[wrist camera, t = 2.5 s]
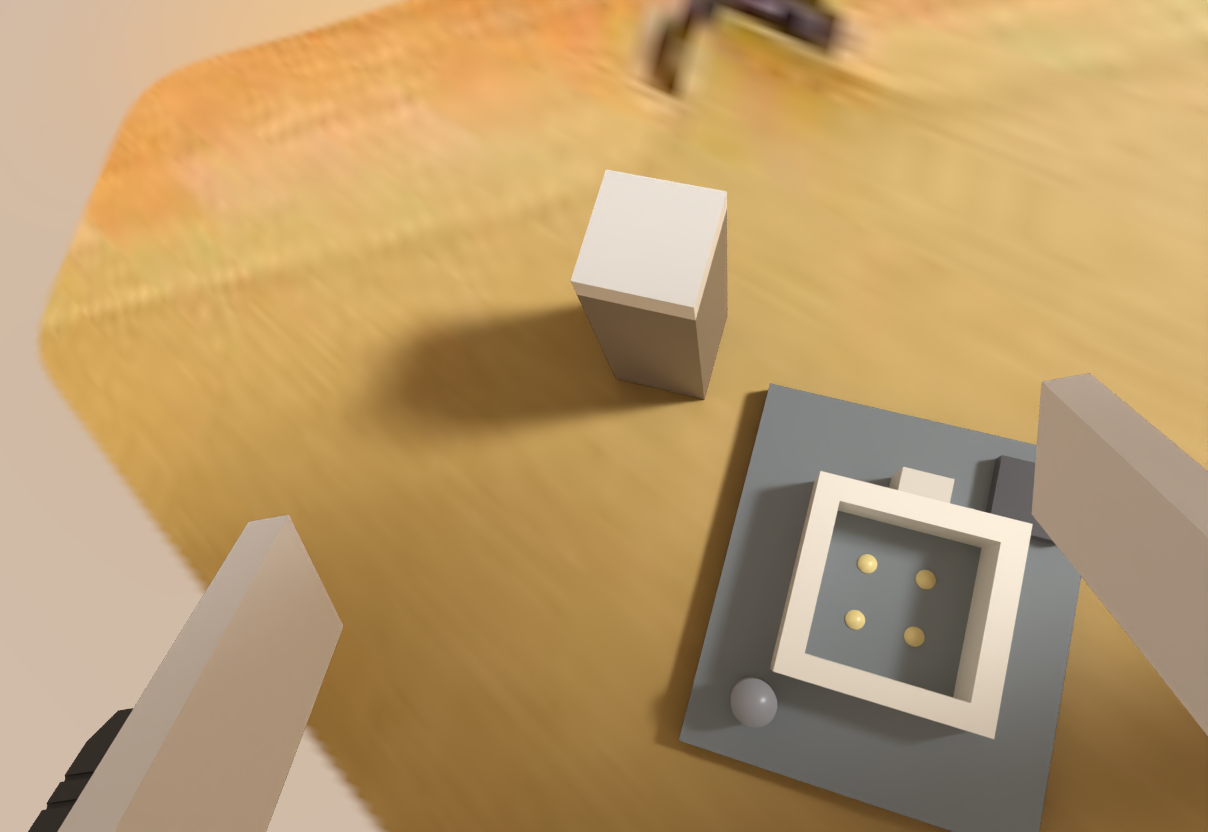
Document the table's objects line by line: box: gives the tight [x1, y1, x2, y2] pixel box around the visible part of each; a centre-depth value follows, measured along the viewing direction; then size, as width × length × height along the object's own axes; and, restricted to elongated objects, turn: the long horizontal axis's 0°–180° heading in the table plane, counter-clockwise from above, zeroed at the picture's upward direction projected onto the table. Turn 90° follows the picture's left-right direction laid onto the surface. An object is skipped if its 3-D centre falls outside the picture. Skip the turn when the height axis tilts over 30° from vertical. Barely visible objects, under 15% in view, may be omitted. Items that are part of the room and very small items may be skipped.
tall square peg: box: [571, 170, 727, 400], centre depth 33 cm, size 4×4×12 cm
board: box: [679, 384, 1081, 832], centre depth 33 cm, size 16×14×4 cm
